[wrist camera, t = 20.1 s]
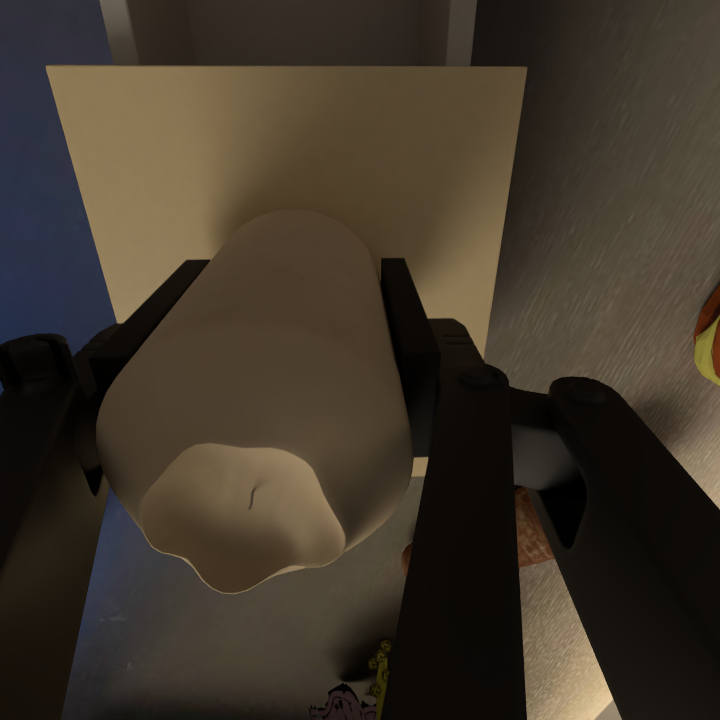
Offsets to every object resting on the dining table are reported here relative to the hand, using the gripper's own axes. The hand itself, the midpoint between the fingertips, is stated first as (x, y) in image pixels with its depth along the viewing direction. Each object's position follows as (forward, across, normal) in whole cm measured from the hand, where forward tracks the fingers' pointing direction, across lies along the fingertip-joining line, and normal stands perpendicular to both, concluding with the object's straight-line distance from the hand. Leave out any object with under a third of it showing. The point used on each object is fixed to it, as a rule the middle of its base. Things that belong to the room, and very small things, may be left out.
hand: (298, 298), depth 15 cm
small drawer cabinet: (+11, 0, -1) cm, 11 cm away
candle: (0, 0, 0) cm, 0 cm away
